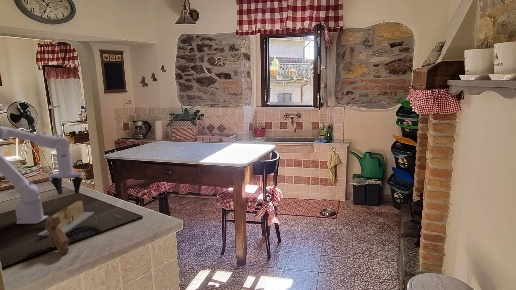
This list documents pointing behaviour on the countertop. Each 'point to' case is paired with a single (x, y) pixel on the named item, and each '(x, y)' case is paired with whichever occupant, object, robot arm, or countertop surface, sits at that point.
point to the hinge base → (62, 219)
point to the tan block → (74, 210)
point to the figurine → (57, 235)
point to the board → (70, 224)
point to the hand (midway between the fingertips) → (68, 193)
